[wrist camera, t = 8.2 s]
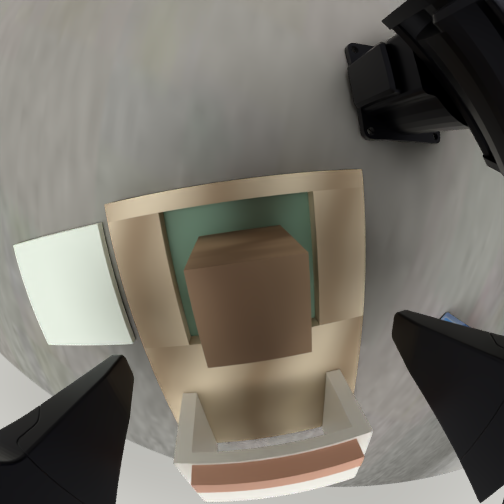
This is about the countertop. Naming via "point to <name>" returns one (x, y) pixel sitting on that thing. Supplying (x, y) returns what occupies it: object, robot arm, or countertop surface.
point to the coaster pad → (74, 288)
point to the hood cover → (274, 452)
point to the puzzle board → (180, 310)
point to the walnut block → (250, 296)
